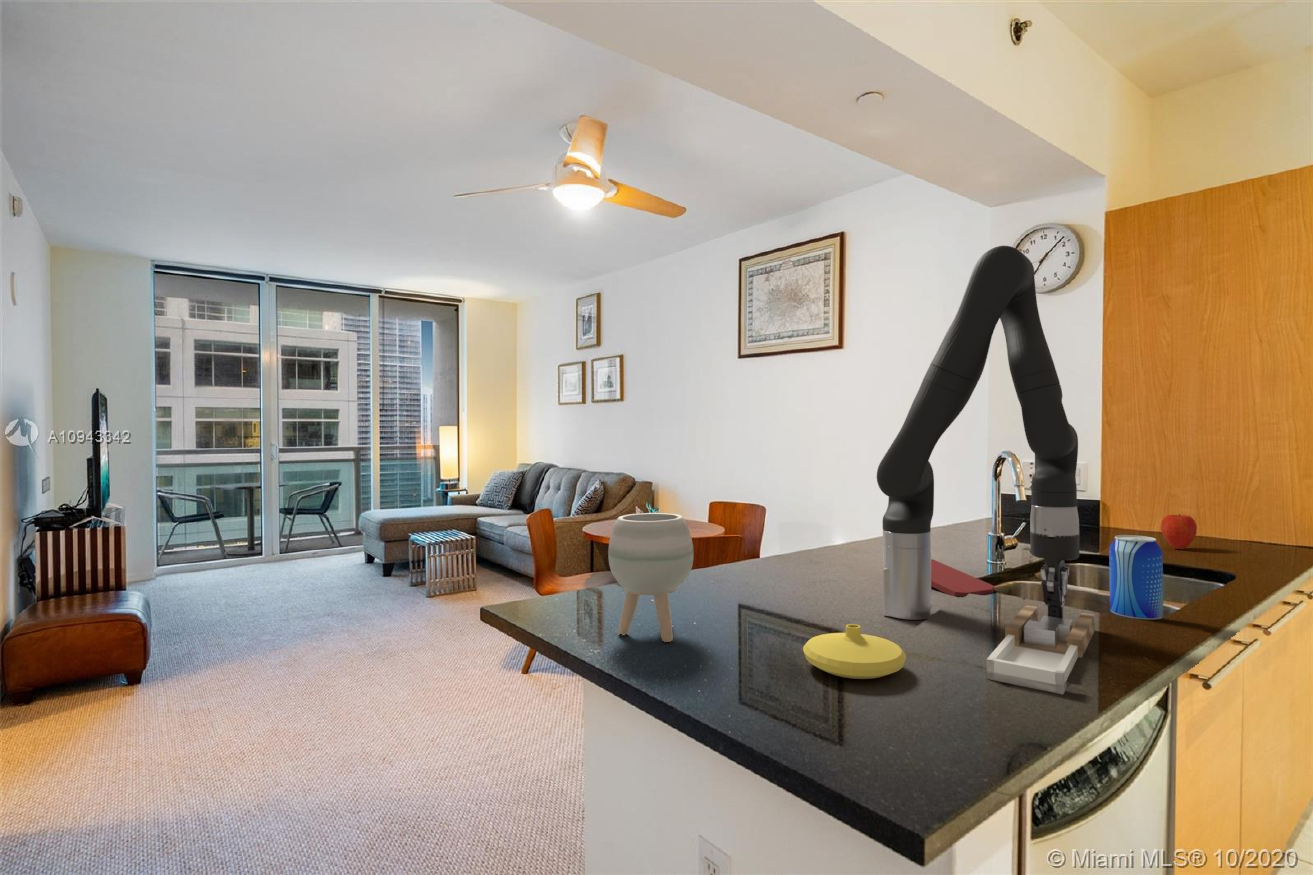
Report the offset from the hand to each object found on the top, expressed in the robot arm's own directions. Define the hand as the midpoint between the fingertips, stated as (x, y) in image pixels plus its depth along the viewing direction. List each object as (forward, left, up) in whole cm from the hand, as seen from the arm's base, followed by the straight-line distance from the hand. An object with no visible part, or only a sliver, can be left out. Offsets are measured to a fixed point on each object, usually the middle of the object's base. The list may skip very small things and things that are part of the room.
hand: (1055, 626), depth 118 cm
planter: (-71, -18, -2) cm, 73 cm away
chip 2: (-1, -4, -1) cm, 4 cm away
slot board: (-2, -4, -2) cm, 5 cm away
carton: (-17, +39, -3) cm, 43 cm away
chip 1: (-4, -8, -1) cm, 9 cm away
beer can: (+17, +17, -2) cm, 24 cm away
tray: (-7, -19, -2) cm, 21 cm away
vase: (-34, -26, -2) cm, 43 cm away
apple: (+54, +103, -2) cm, 116 cm away
